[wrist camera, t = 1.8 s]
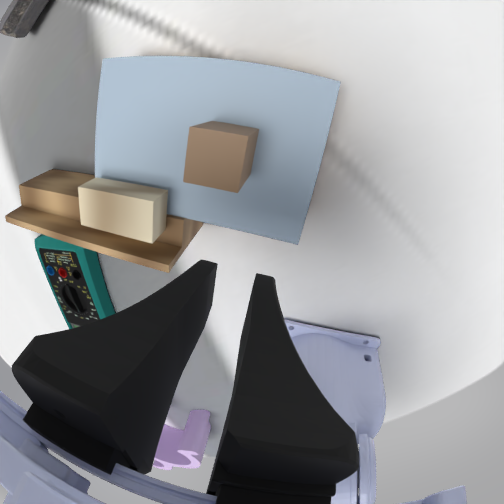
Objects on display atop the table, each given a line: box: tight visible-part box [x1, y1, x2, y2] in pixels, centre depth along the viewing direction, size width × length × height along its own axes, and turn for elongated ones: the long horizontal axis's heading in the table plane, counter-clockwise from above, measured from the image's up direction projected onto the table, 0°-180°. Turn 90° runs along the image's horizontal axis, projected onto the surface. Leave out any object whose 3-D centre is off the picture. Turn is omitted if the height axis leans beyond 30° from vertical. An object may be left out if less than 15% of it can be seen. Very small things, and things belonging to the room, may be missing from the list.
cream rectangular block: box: [78, 177, 168, 244], centre depth 15 cm, size 5×2×2 cm, turn 80°
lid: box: [95, 56, 341, 245], centre depth 13 cm, size 13×9×5 cm
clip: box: [153, 410, 211, 470], centre depth 37 cm, size 20×12×7 cm, turn 153°
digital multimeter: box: [35, 234, 115, 329], centre depth 26 cm, size 7×15×3 cm, turn 1°
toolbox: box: [5, 169, 203, 273], centre depth 15 cm, size 22×11×6 cm, turn 80°
